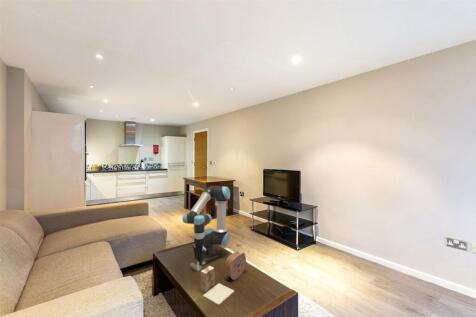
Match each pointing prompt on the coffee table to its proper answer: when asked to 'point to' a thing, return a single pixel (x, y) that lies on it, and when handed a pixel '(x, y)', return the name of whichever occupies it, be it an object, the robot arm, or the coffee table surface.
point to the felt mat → (218, 293)
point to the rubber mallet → (205, 262)
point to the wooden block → (207, 278)
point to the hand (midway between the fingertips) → (199, 269)
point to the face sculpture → (235, 265)
